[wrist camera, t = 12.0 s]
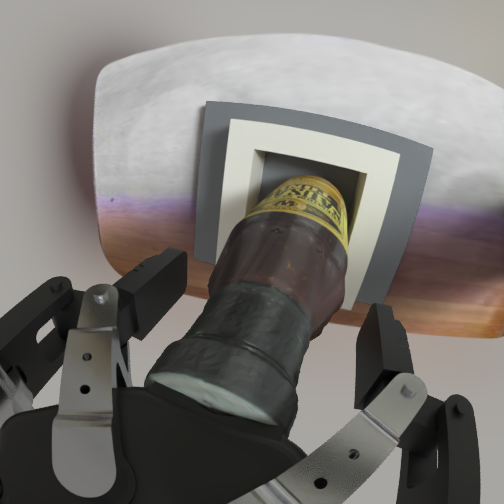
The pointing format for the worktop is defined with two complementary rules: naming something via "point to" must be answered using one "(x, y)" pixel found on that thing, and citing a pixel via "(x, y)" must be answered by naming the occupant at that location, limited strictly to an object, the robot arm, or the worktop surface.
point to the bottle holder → (317, 164)
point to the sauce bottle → (264, 306)
